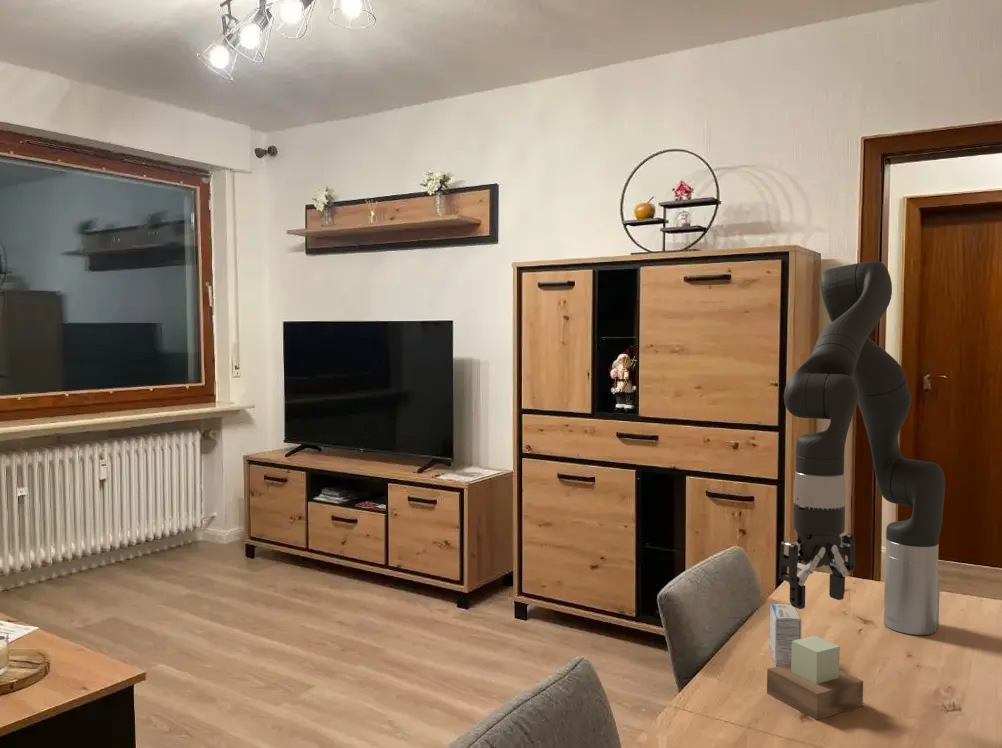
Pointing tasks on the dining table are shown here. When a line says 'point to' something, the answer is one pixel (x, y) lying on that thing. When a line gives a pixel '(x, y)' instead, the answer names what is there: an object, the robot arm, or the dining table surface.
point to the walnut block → (815, 692)
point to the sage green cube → (815, 659)
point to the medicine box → (783, 632)
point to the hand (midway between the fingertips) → (817, 603)
